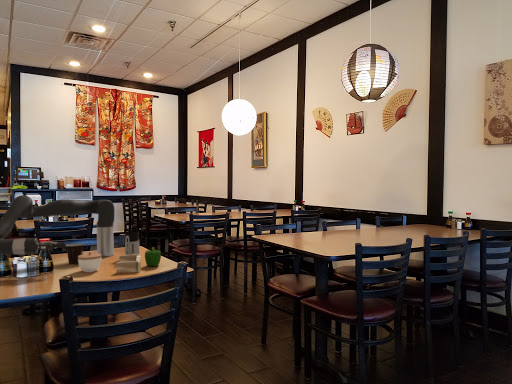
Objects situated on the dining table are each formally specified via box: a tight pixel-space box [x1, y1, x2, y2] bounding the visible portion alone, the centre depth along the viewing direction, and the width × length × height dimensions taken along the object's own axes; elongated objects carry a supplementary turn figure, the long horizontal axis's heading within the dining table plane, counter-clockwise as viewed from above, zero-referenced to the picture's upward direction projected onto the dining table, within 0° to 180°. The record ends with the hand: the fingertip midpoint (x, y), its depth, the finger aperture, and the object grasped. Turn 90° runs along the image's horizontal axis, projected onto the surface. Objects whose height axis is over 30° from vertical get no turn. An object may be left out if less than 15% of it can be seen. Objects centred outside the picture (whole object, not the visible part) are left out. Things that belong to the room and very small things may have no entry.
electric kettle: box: [124, 230, 140, 255], centre depth 216 cm, size 9×14×15 cm, turn 178°
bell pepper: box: [144, 246, 162, 267], centre depth 198 cm, size 8×8×10 cm
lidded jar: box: [78, 251, 103, 273], centre depth 187 cm, size 11×11×9 cm
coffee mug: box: [65, 243, 85, 265], centre depth 203 cm, size 12×9×10 cm
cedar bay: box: [115, 253, 142, 274], centre depth 193 cm, size 20×11×5 cm, turn 16°
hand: (65, 244), depth 183 cm, fingers closed
